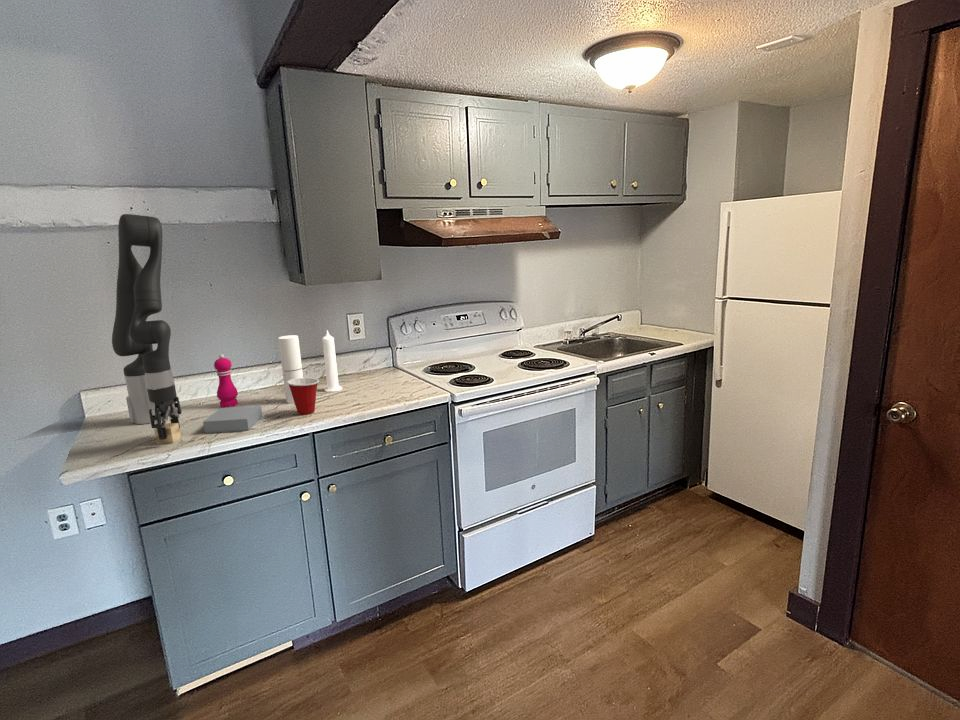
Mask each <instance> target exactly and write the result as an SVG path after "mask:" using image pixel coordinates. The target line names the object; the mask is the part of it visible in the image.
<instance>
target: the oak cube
mask: <svg viewBox="0 0 960 720" xmlns="http://www.w3.org/2000/svg"><path fill="white" fill-rule="evenodd" d="M179 425H180V423H179V424H178V423H171V422H170V423H165V427H166V432H167V438H166V439H163V440H160V439H159V436H158V431H157V428H153V430H154V435H155V437H154V438H155V441H156V445H168V444H174V443H176V442H177V441H178V440H179V439H181V438H182V437H181V430H180V429H181V428H180V429H179Z"/></svg>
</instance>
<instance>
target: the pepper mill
mask: <svg viewBox="0 0 960 720" xmlns="http://www.w3.org/2000/svg"><path fill="white" fill-rule="evenodd" d="M218 357H219V358H217V359H216V360H215V361H214V362H213V363H214V364H213V367H214V369H215V370H216V375H217V377H218V381H219V382H218V386H217V387H218V388H217V391H216V397H217V398H218V400H220V401H219V407H220V408H233V407H235V406H237V405H238V404H239V402H238V399H237V397H238V394H239V393H238V389H237V387H236V386H235V384H234V383H233V381H232V370H231V368H232V366H233V363H232V361H231V360H230V359H229V358H227V357H225V355H224V354H223V353H221V354H219V355H218Z"/></svg>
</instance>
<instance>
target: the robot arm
mask: <svg viewBox="0 0 960 720" xmlns="http://www.w3.org/2000/svg"><path fill="white" fill-rule="evenodd" d="M117 228H118V229H117V230H118V267H117V279H116V293H115V294H116V295H115V296H116V302H115V304H116V305H115V306H116V307H115V317H114V322H113V328H112V335H111V344H112V349H113V351H114V353H115V355H116V356H119V357H129V356H136V355H137V357H136V358H135V360H133V361H132V362H130V363H129V364H127V365H125V366H124V367H123V375H124V379H125V384H126V390H127V396H126V397H125V400H126V404H127V406H126V407H127V411H128V414H129V420H130V424H136V425H145V424H150V426H151V428H152V429H155V428H157V431H158V436H159V439H160V440H163V439H166V438H167V432H166V427H165V424H167V422H168V419H169V418H170V419H169V421H170V423H178V424H179V429H181V426H180V419H179V418H180V415H182V409H181V403H180V398H179V396H177V389H176V385H175V379H174V374H173V372H172V367H171V361H170V356H169V355H170V352H169V351H170V340H171V336H172V333H171V332H172V331H171V327H170V325H169V323H168V322H166V321H165V320H163V319H159V320H158V319H157V320H148V321H147V319H148V318H149V317H150V316H152V315H155V314H159V313H160V312H161V311H163V310H162V309H163V303H162V291H161V274H162V273H161V272H162V257H163V226H162V223H161V220H160V219H159V218H158V217H155V216H150V215H141V214H131V213H123V214H121V215H120V217H119V219H118V227H117ZM132 246H135V247H146V248H147V247H148V248H149V255H148V259H147V261H146V262H145V264H144V266H143V267H142V266H141V265H140V263H139V262H138V260H137V258H136V257H135V255H134V252H133V250H132ZM154 344H155V345H157V347H156V349H155V350H154V347H153V345H154Z"/></svg>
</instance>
